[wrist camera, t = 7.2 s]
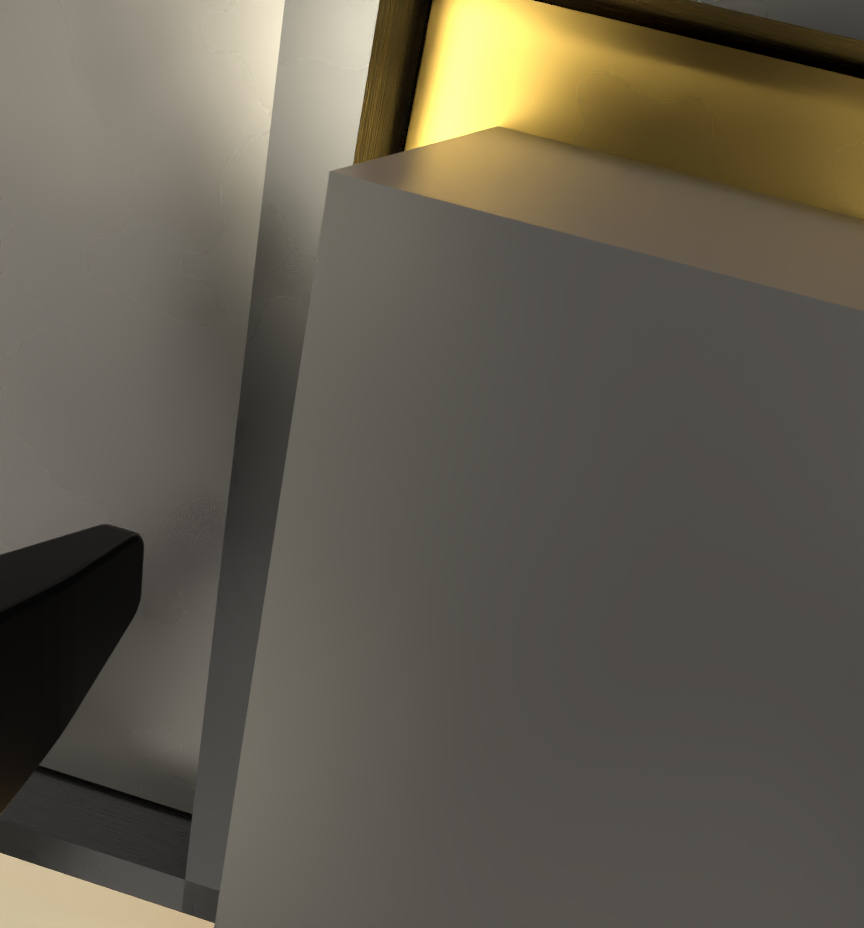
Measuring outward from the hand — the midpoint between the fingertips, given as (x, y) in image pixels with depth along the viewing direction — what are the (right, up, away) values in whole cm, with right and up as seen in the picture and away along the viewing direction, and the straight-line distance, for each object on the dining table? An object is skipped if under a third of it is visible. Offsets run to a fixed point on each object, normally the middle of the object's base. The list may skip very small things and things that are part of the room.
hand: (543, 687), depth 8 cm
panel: (0, +1, +2) cm, 3 cm away
